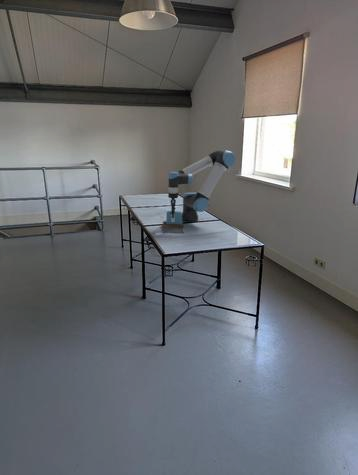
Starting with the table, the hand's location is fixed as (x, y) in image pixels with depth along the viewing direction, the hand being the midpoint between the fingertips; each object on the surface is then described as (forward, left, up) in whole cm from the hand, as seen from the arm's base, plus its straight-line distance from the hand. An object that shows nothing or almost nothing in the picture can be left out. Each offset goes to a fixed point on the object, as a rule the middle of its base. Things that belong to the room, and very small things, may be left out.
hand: (172, 219), depth 258 cm
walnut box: (0, 0, -6) cm, 6 cm away
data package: (+1, +1, -6) cm, 6 cm away
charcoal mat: (+12, 0, -6) cm, 13 cm away
